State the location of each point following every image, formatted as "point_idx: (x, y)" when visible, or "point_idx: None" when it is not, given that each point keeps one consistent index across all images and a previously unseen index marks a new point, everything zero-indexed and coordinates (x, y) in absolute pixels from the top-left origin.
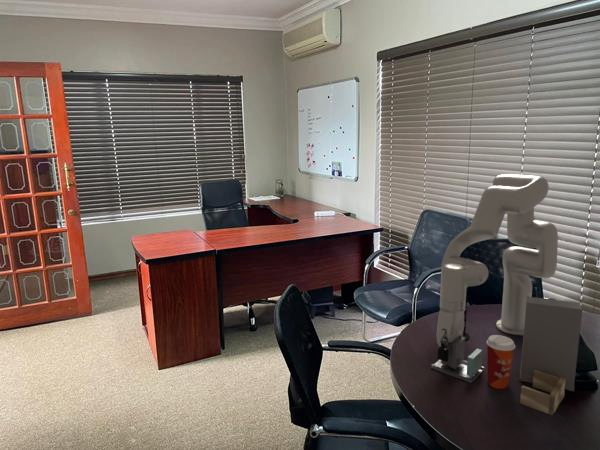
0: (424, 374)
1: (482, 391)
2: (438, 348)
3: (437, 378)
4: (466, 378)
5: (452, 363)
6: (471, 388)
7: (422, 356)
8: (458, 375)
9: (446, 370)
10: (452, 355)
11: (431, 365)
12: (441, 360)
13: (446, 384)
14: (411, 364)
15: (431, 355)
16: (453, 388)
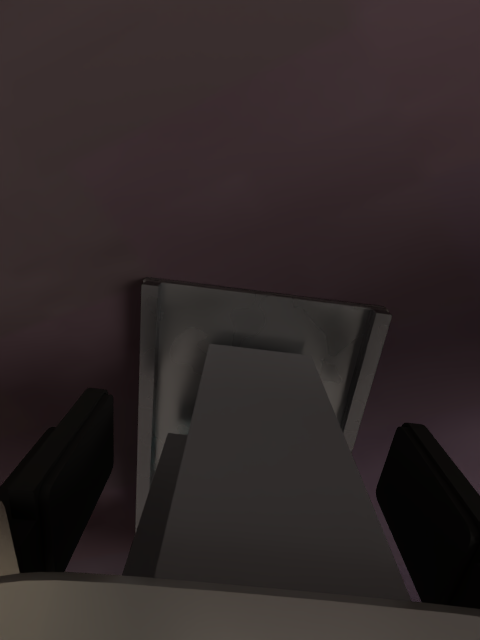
0: (27, 268)
1: (101, 566)
2: (23, 473)
3: (47, 361)
4: (137, 508)
5: (159, 465)
6: (89, 527)
7: (293, 135)
8: (139, 468)
9: (140, 400)
10: (137, 529)
11: (143, 284)
12: (207, 356)
13: (25, 423)
14: (91, 103)
15: (353, 204)
16: (17, 463)
